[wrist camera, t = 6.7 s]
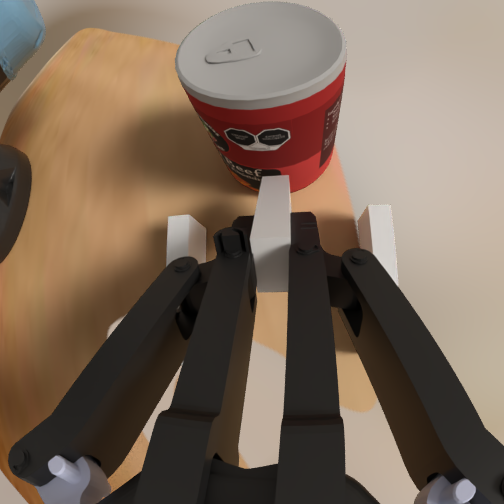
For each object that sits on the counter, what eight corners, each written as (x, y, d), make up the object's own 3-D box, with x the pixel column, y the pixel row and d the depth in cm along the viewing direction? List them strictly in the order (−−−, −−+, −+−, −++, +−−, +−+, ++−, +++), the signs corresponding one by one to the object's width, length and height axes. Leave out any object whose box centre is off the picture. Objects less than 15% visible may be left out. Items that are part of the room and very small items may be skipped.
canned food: (209, 144, 23) (151, 47, 12) (292, 95, 22) (280, -13, 12) (262, 220, 21) (223, 136, 10) (352, 161, 20) (383, 53, 10)
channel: (383, 352, 18) (399, 361, 15) (188, 355, 20) (167, 364, 17) (376, 220, 20) (390, 204, 16) (187, 229, 22) (168, 216, 18)
